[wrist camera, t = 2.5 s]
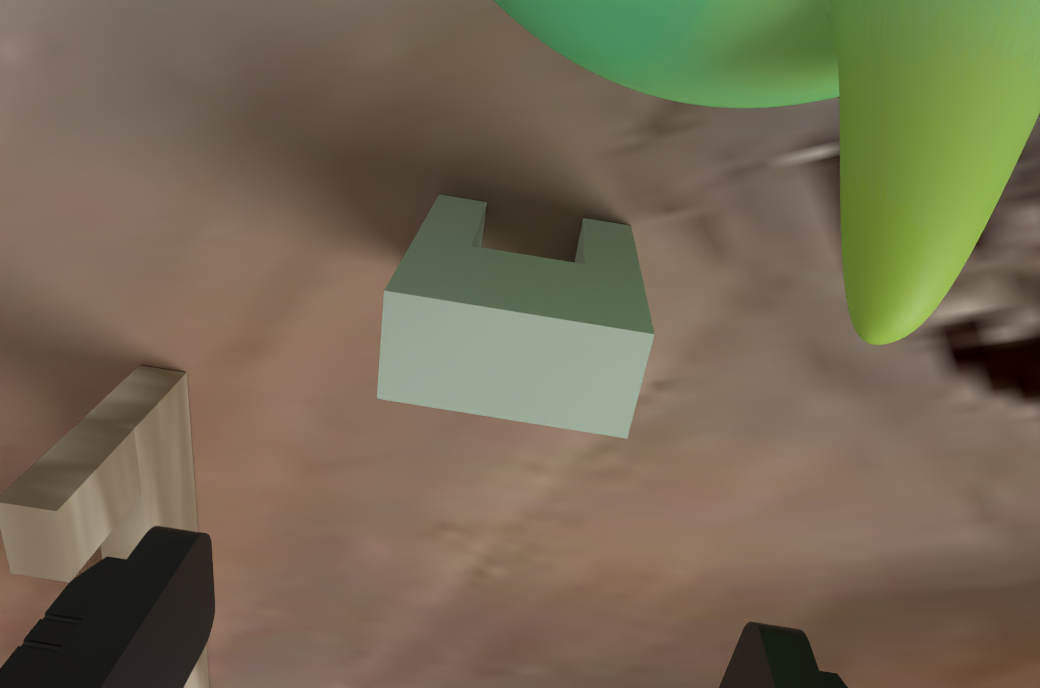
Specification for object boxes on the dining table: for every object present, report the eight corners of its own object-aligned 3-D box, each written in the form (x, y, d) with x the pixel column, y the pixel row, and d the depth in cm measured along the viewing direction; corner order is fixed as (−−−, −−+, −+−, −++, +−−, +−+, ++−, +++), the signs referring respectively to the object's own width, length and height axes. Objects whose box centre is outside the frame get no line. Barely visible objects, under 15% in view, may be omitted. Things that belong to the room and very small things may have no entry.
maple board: (186, 372, 28) (56, 511, 21) (211, 711, 37) (126, 886, 30) (139, 365, 28) (-7, 501, 21) (175, 705, 37) (83, 880, 30)
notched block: (630, 225, 24) (654, 334, 17) (612, 307, 26) (627, 438, 19) (439, 194, 24) (384, 290, 17) (430, 277, 26) (376, 398, 19)
